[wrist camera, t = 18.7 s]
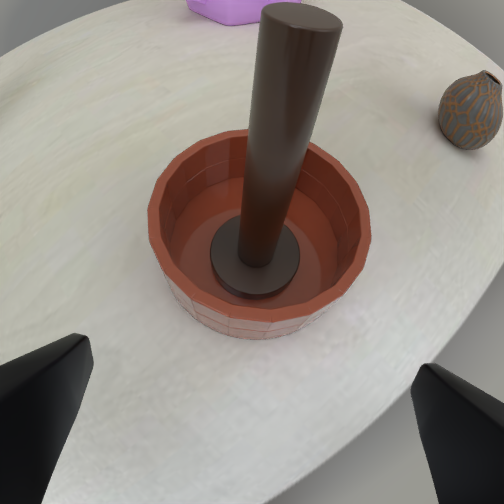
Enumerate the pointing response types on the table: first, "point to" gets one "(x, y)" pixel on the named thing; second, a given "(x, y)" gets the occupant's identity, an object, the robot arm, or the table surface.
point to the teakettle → (232, 10)
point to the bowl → (229, 205)
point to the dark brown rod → (276, 148)
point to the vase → (472, 110)
